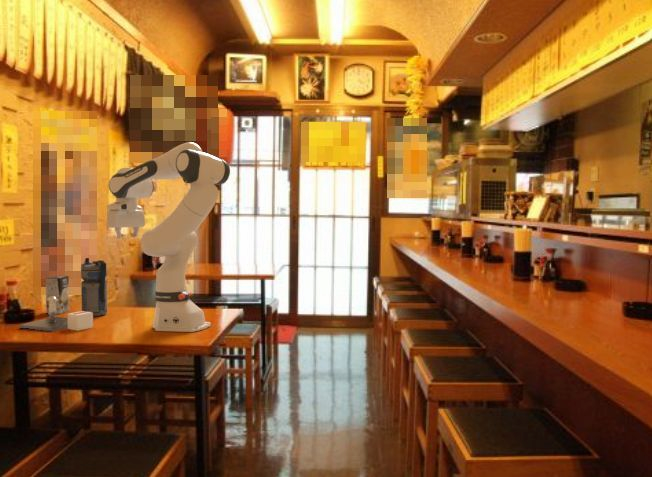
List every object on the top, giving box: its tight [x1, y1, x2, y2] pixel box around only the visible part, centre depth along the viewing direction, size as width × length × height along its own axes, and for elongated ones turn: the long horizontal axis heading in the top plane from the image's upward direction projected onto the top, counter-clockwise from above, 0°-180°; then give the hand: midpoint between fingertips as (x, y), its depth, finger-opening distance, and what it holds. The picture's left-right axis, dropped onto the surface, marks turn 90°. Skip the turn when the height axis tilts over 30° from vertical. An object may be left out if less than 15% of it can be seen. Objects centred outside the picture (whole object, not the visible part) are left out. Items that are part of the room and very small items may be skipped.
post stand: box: [19, 297, 68, 333], centre depth 197 cm, size 16×16×12 cm
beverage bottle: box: [80, 257, 108, 318], centre depth 217 cm, size 10×13×25 cm
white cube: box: [67, 310, 94, 332], centre depth 193 cm, size 6×6×6 cm
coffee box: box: [45, 275, 70, 315], centre depth 224 cm, size 9×6×16 cm
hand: (127, 237), depth 216 cm, fingers open, 8 cm apart
